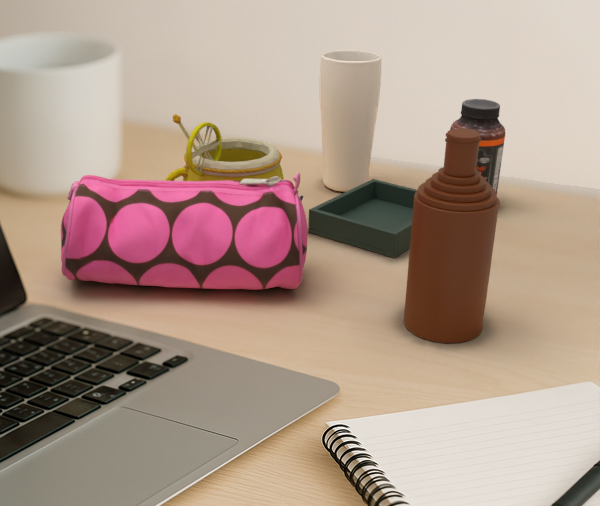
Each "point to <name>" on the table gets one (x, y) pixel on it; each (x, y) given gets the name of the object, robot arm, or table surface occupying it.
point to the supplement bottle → (484, 135)
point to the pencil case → (185, 233)
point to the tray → (368, 217)
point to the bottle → (451, 246)
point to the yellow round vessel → (226, 157)
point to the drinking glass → (348, 115)
